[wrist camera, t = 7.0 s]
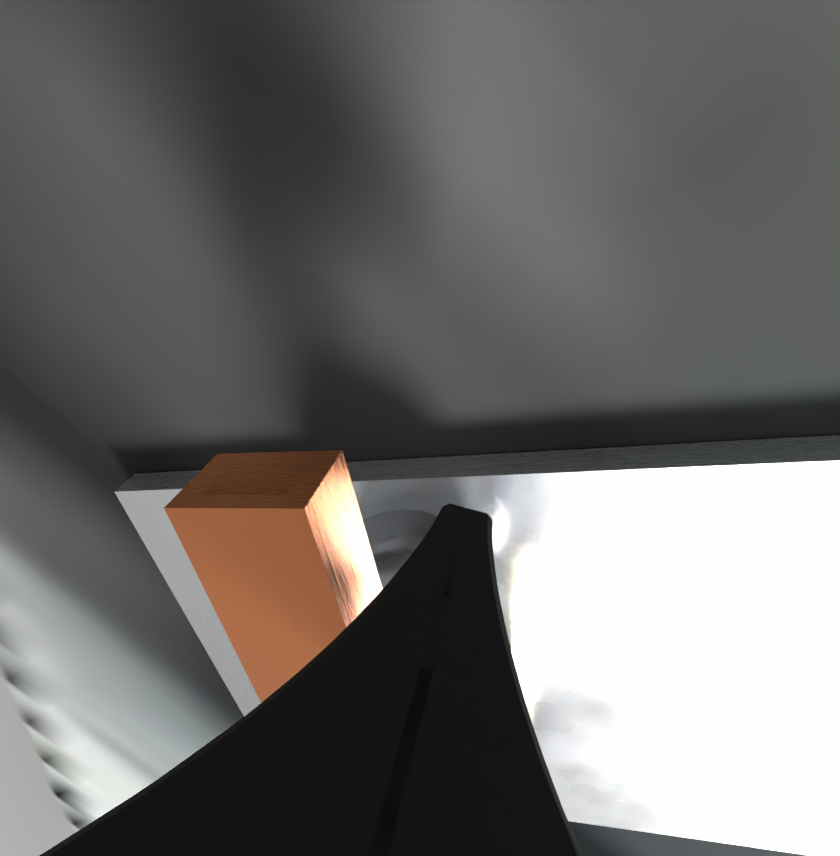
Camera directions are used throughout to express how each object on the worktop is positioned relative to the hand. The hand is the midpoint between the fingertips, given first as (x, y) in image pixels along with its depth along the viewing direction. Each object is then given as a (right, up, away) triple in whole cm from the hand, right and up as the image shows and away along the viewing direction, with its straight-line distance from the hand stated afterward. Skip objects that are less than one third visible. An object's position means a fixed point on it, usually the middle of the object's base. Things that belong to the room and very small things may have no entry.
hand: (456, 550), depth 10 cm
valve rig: (+2, -5, +9) cm, 11 cm away
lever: (-2, -4, +2) cm, 5 cm away
